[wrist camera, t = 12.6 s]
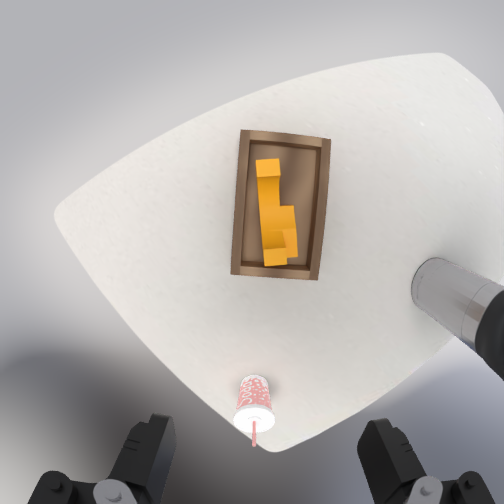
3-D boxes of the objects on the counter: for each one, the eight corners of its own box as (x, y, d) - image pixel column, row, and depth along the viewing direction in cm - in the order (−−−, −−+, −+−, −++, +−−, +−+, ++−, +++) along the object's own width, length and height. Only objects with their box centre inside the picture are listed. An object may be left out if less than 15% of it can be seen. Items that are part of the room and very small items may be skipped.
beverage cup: (267, 368, 42) (271, 429, 28) (275, 393, 43) (281, 453, 30) (231, 375, 42) (224, 436, 29) (242, 399, 44) (238, 459, 30)
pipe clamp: (294, 251, 37) (302, 263, 31) (262, 254, 38) (264, 266, 31) (287, 164, 35) (294, 157, 29) (255, 166, 35) (255, 160, 29)
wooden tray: (324, 144, 35) (330, 139, 31) (312, 272, 39) (317, 280, 35) (242, 135, 35) (240, 129, 31) (232, 267, 39) (230, 274, 35)
